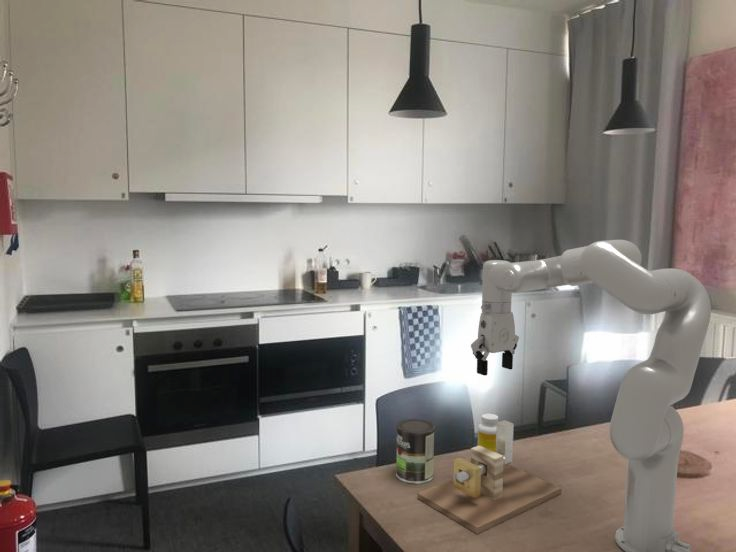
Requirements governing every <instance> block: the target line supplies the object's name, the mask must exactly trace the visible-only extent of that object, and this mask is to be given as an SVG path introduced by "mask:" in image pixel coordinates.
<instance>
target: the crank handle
mask: <svg viewBox="0 0 736 552" xmlns="http://www.w3.org/2000/svg"><path fill="white" fill-rule="evenodd" d="M514 427H515V425H514V423H513V422H511V421H508V420H505V419H504V420H500V421H498V422H497V425H496V453H498V454H500V455H502V456H504V463H503V466H506V465H511V464H512V462H513V456H514V455H513V454H514V452H513V451H514ZM477 466H479V467H481V475H483V474H485V473H487V465H485V464H480V465H477ZM455 480H456V482H457V483H459V484H460V483H463V482H465V481H468V480H470V474H468V473H466V472H464V471H462V472H459V473H456V474H455Z"/></svg>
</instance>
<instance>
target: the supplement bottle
mask: <svg viewBox="0 0 736 552" xmlns="http://www.w3.org/2000/svg"><path fill="white" fill-rule="evenodd" d="M497 422H499V416H498V415H497V414H494V413H483V414H482V415H481V423H479V424H478V425H477V446H482V447H484V448H486V449H489V450H491V451H493V452H496V425H497Z"/></svg>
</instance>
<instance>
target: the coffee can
mask: <svg viewBox="0 0 736 552" xmlns="http://www.w3.org/2000/svg"><path fill="white" fill-rule="evenodd" d="M435 427H436V426H435V424H434V423H432V421H429V420H424V419H420V418H409V419H408V418H407V419H403V420H401V421H398V422H397V423H396V462H395V463H396V469H395V470H396V471H395V477H396V478H397V479H398V480H399V481H401V482H403V483H407V484H411V485H415V484H416V485H420V484H422V485H423V484H426V483H429V482H431V481H432V480H433V479H434V459H435V457H434V455H435V454H434V452H435V451H434V450H435V448H434V447H435V430H436V429H435Z"/></svg>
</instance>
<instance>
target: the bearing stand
mask: <svg viewBox="0 0 736 552" xmlns="http://www.w3.org/2000/svg"><path fill="white" fill-rule="evenodd" d="M470 463H472V464H474V465H476V466H477V465H480V464H485V465H487V473H485V474H483V475H481V488H480V496H478V497H476V498H473V497H472V496H470V495H468V494H466V493H464V492H462V491H460V490H458V489H457V488H455V487H453V483H454V478H453V479H450V480H447V481H444V482H441V483H439V484H437V485H434V486H431V487H429V488H427V489H424V490H421V491H418V492H417V494H416V495H417V499H418V500H419V501H421V502H423V503H424V504H426V505H428V506H429V507H431V508H432V509H434V510H436V511H438V512H439V513H441V514H442V515H445V516H446V517H448V518H450V519H451V520H453V521H454V522H456V523H458V524H460V526H462V527H464V528H467V529H468V530H470V531H472V532H473V533H474V534H477V535H478V534H480V533H482V532H485V531H487V530H488V529H491V528H493V527H495V526H498V525H499V524H501V523H503V522H505V521H508V520H510V519H511V518H513V517H517V516H518V515H521V514H522V513H525V512H526V511H528V510H530V509H532V507H533V508H534V507H537V506H539V505H541V504H543V503H544V502H547V501H549V500H551V499H553V498H556V497H557V495H558V496H559V494H560V495H561V494H562V488H561V487H560V486H557V485H555V484H554V483H550V482H549V481H547V480H543V479H541V478H539V477H537V476H534V475H533V474H530V473H528V472H527V471H526V472H525V471H524V470H521V469H519V468H517V467H515V466H512V465H511V464H508V465H506V466H503V463H504V456H502V455H500V454H498V453H496V452H493V451H491V450H489V449H486V448H484V447H482V446H478V445H477V446H474V447H471V448H470ZM466 482H468V483H470V480H468V481H466ZM542 502H543V503H542ZM540 503H541V504H540ZM536 505H537V506H536Z"/></svg>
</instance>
